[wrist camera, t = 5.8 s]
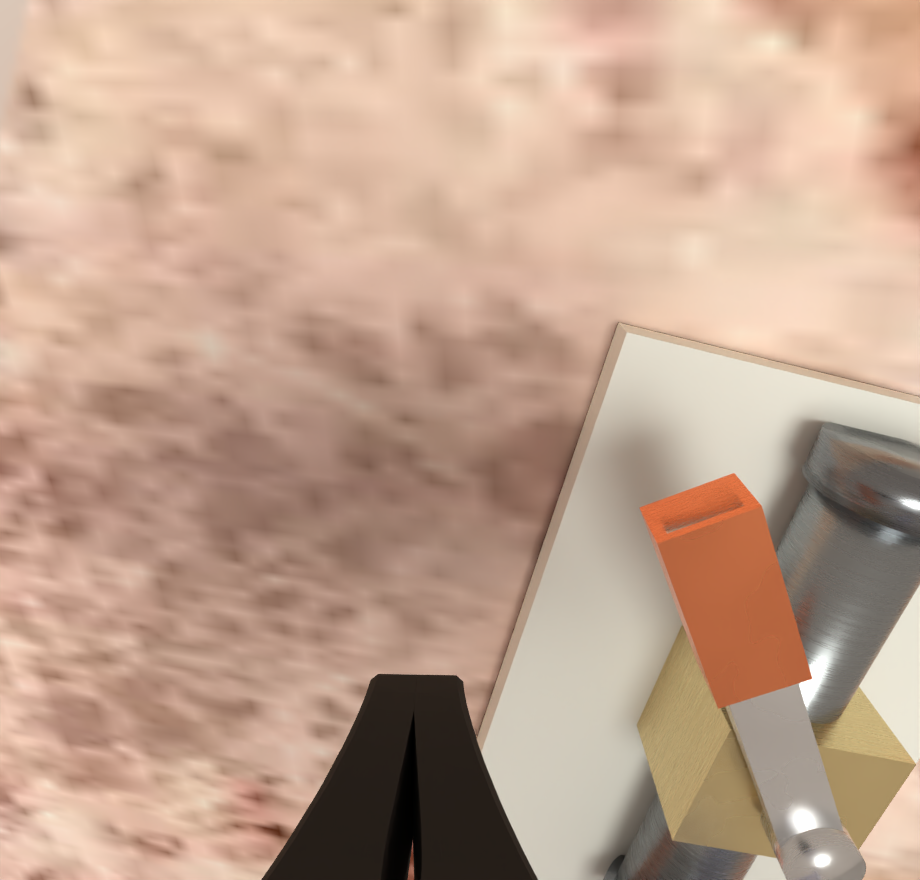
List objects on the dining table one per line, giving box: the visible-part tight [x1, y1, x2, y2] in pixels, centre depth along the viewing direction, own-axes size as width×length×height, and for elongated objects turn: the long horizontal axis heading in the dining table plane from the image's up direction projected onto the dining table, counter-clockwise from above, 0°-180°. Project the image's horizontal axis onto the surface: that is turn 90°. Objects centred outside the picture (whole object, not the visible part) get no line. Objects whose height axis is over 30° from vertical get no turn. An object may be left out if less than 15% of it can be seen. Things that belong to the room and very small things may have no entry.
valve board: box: [477, 322, 920, 880], centre depth 22 cm, size 20×14×1 cm
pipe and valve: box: [603, 422, 920, 880], centre depth 20 cm, size 18×5×4 cm, turn 166°
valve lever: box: [640, 473, 866, 880], centre depth 16 cm, size 11×2×2 cm, turn 23°
